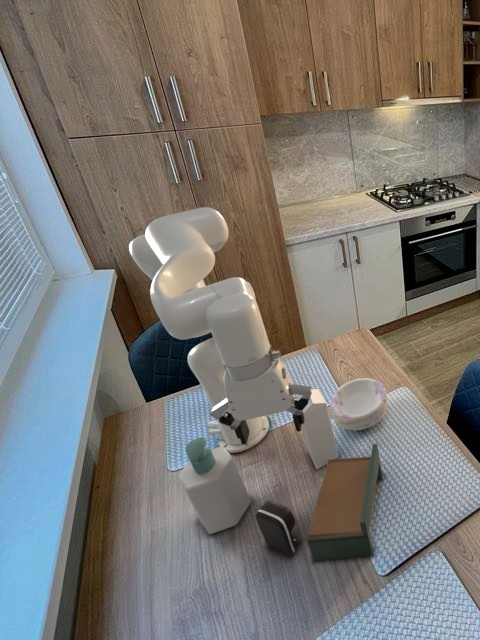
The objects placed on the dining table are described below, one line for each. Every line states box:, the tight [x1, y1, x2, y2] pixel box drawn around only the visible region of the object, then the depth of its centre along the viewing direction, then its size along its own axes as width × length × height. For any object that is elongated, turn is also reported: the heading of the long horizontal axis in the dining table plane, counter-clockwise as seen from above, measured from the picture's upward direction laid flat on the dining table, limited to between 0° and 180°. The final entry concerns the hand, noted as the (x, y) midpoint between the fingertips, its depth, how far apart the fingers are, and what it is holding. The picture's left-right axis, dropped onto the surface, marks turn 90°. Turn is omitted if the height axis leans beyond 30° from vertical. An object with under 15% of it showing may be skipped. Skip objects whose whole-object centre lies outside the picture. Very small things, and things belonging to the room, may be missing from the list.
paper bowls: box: [330, 377, 389, 432], centre depth 114 cm, size 15×15×8 cm
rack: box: [306, 443, 384, 561], centre depth 89 cm, size 12×18×11 cm, turn 4°
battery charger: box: [254, 500, 300, 557], centre depth 83 cm, size 7×4×11 cm, turn 70°
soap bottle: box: [177, 437, 251, 535], centre depth 88 cm, size 10×9×22 cm
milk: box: [295, 384, 340, 470], centre depth 100 cm, size 6×6×22 cm
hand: (273, 432), depth 78 cm, fingers open, 9 cm apart
